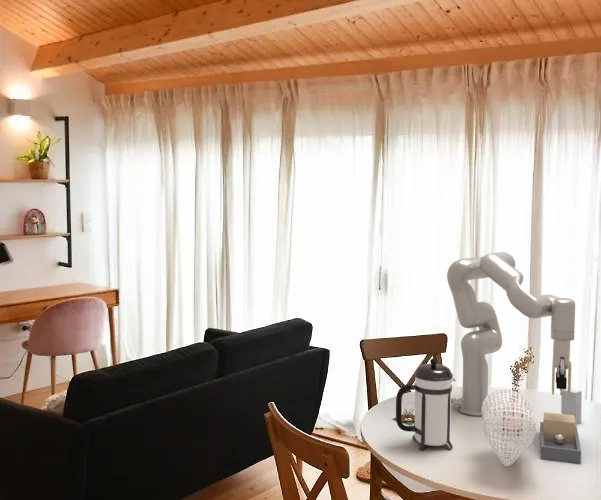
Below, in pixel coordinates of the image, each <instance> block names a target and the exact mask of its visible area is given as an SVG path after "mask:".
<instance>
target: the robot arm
mask: <svg viewBox="0 0 601 500" xmlns="http://www.w3.org/2000/svg"><path fill="white" fill-rule="evenodd" d="M486 278H487V279H488V278H489V279H490V280H491V281H493V282H494V283H495V284H496V285H498V286H500V288H502V289H503V290H504V292H506V296H507V299H508V301H509V303H510V304H511V305H512V306H513V307H514V308H515V309H516V310H518V311H519V312H520V313H521V315H523V316H525V317H526V318H529V319H540V318H545V317H550V319H551V320H550V322H551V323H550V339H552V340H553V346H552V347H553V348H552V364H553V368H554V369H555V370H556V371H555V386H556V387H555V388H556V389H557V390H560V389H566V388H568V376H567V370H568V368H569V361H570V357H571V342H572V341H575V328H576V327H575V326H576V322H575V321H576V302H575V300H573V298H566V297H558V296H556V295H553V294H543V295H536V296H533V295H531V294H530V293H529V292H527V291H526V290H525V289H524V288H522V286H521V285H522V284H523V280H524V274H523V273H522V272H520V271H519V270H518V269H517V268H516V260H515V258H514V257H513V256H512V254H510V253H508V252H506V251H501V252H500V251H499V252H490V253H487V254H485V255H482V256H478V257H465V258H460V259H457V260H455V261H454V262H451V264H450V266H449V267H448V270H447V273H446V279H447V283H448V286H449V289H450V292H451V295H452V298H453V302H454V307H455V311H456V315H457V318H458V321H459V324H460V326H461V327H463V328H464V329H474V328H478V330H475V331H474V330H473V331H470V332H467V333H466V334H465V335H464V336H463V337H461V341H460V349H461V355H462V392H461V393H462V395H461V397H459V398H454V397H451V404H453V405H455V406H457V411H458V412H460V413H461V414H464V415H465V416H466V415H467V416H472V417H483V416H482V404H483V401H484V399H485V398H486V397H487V396H488V395H489V394H488V393H489V391H488V390H489V387H488V386H489V385H488V384H489V365H488V364H489V363H488V361H487V359H486V355H489V354H493V353H496V352H498V351H500V350H501V348H502V347H503V336H502V332H501V328H500V324H499V321H498V317H497V313H496V311H495V309H494V307H493V306H492V305H491V304H490V303H488V302H486V301H478V300H477V297H476V293H475V289H474V288H473V287H472V285H471V284H470V283H469V281H470V280H471V281H472V280H473V281H474V280H479V279H486ZM566 366H567V367H566ZM485 405H486V404H485ZM488 408H489V407H488ZM485 410H486V409H485ZM489 413H490V412H489Z"/></svg>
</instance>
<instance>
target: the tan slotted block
mask: <svg viewBox="0 0 601 500" xmlns="http://www.w3.org/2000/svg"><path fill="white" fill-rule="evenodd" d="M566 367H567V366H566ZM567 371H568V372H567V373H568V374H567V388H568V396H570V394H571V389H572V388H571V387H572V362H571V360H569V368H568V369H567ZM555 381H556V368H555V369H554V368H553V363H552V367H551V394H552V395H555ZM559 392H560V393H559V395H560V396H561V395H562V389H559Z"/></svg>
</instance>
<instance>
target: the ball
mask: <svg viewBox="0 0 601 500" xmlns="http://www.w3.org/2000/svg"><path fill="white" fill-rule="evenodd" d="M554 440H555V442H556V443H558V444H562V443H563V442H564V441H565V438H564V436H563V435H562V434H556V435H555V436H554Z"/></svg>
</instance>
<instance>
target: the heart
mask: <svg viewBox="0 0 601 500" xmlns="http://www.w3.org/2000/svg"><path fill="white" fill-rule="evenodd" d="M485 404H486V405H485ZM488 407H489V408H488ZM485 409H486V410H485ZM489 412H490V413H489ZM495 413H496V414H495ZM499 413H500V414H499ZM503 413H505V414H503ZM518 413H519V414H518ZM518 415H519V416H518ZM521 416H522V417H521ZM481 417H482V428H483V432H484V433H483V434H484V435H485V437H486V440H487V442H488V443H489V445H490V446H491V448H492V450H493V452H494V454H495V455H496V457H497V459H498V460H499V461H500V463H501V464H502V465H503V466H504V467H510V466H512V465H513V464H514V463H515V462H516V461H517V460H518V458H519V457H520V456H521V455H522V454H523V452H525V451H526V449H527V448H528V447H529V446H530V445H531V444H532V443H533V441H534V439H535V436H536V433H537V424H536V419H535V417H534V415H533V411H532V405H531V404H530V403H529V400H528V398H526V397H525V396H524V395H522V394H521V393H520V392H518V391H516V390H512V389H507V388H505V389H504V388H503V389H496V390H494V391H492V392H490V393H489V394H488V396H487V397H486V398H485V399H484V401H483V404H482V416H481ZM503 418H504V419H505V420H503ZM499 419H500V420H499ZM518 420H519V422H518ZM499 425H500V426H499ZM499 429H500V430H499ZM503 429H504V430H503ZM518 430H519V431H518ZM503 434H504V436H503ZM518 435H519V436H518ZM503 440H504V441H503Z"/></svg>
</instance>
